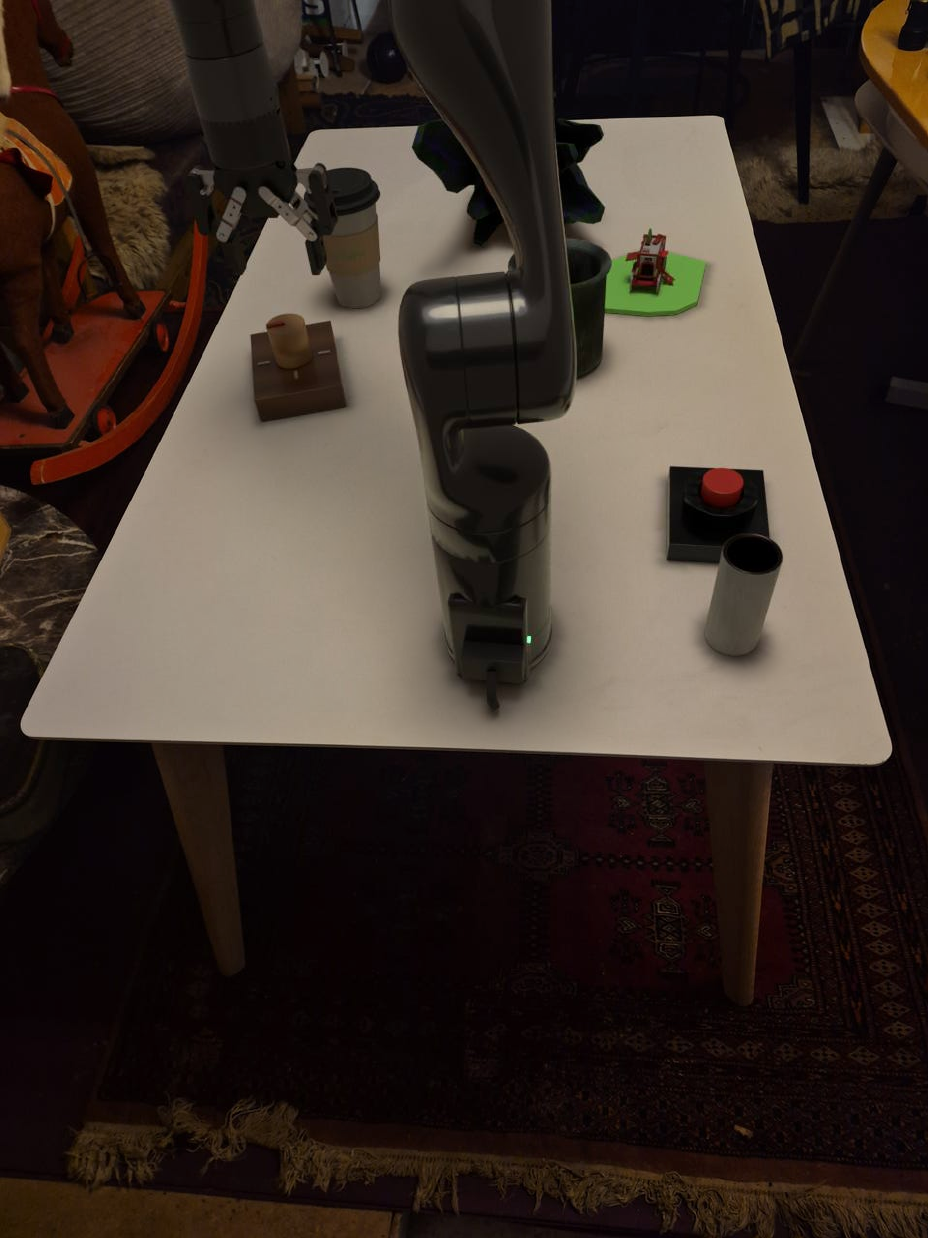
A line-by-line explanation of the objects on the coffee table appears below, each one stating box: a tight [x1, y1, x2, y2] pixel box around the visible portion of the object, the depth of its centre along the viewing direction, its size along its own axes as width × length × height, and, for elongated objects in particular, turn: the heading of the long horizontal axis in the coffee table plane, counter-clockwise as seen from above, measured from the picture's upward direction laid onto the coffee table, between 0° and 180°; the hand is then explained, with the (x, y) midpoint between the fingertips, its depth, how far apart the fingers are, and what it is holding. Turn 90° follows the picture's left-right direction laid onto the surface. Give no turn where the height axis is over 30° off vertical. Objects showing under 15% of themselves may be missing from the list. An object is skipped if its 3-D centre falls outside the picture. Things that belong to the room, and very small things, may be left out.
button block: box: [666, 465, 771, 564], centre depth 81 cm, size 11×9×4 cm
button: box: [701, 467, 743, 507], centre depth 79 cm, size 4×4×2 cm
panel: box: [249, 320, 348, 423], centre depth 102 cm, size 14×10×3 cm
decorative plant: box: [411, 91, 606, 248], centre depth 115 cm, size 21×26×30 cm
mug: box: [507, 237, 612, 378], centre depth 98 cm, size 11×15×12 cm
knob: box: [265, 312, 312, 369], centre depth 99 cm, size 4×4×5 cm
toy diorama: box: [605, 227, 707, 317], centre depth 109 cm, size 15×15×6 cm
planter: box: [704, 533, 784, 657], centre depth 70 cm, size 4×4×10 cm
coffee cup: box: [303, 167, 382, 309], centre depth 109 cm, size 9×9×15 cm
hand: (279, 271), depth 91 cm, fingers open, 8 cm apart
